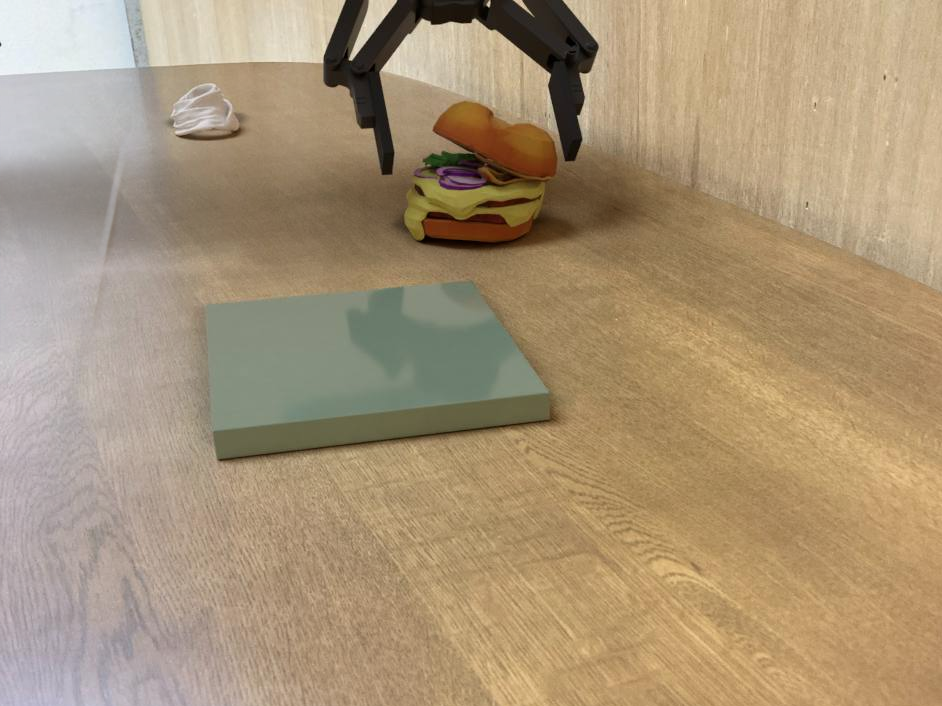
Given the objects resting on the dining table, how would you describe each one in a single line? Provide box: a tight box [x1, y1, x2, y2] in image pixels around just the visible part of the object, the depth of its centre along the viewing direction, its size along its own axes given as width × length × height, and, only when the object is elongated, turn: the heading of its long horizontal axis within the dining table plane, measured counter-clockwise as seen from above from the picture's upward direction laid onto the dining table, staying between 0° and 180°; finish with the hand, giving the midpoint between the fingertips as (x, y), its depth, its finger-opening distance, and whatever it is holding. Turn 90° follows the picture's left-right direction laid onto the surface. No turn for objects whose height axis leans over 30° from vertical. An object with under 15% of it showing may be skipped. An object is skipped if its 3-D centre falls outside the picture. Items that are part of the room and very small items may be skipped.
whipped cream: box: [170, 83, 240, 136], centre depth 116 cm, size 8×7×5 cm
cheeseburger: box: [403, 100, 558, 243], centre depth 83 cm, size 10×11×10 cm
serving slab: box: [204, 280, 551, 460], centre depth 62 cm, size 18×16×2 cm
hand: (482, 157), depth 81 cm, fingers open, 13 cm apart
